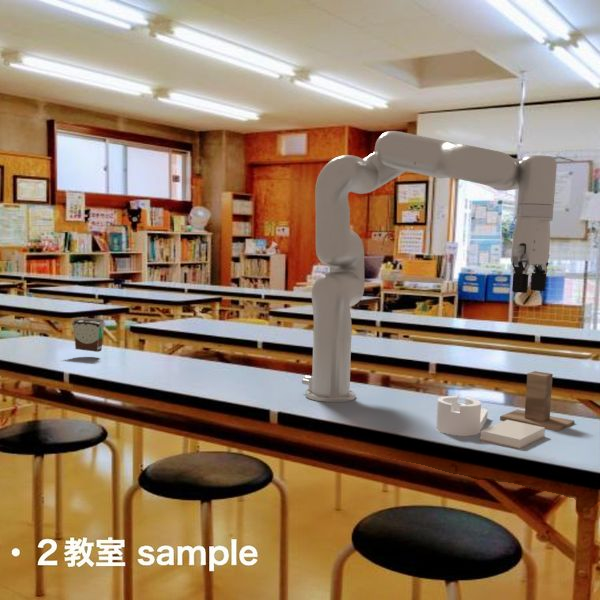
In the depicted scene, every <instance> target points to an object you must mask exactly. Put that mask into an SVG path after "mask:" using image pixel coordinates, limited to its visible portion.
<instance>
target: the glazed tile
mask: <svg viewBox="0 0 600 600" xmlns="http://www.w3.org/2000/svg"><path fill="white" fill-rule="evenodd" d="M545 431H546V429H545V427H540V426H535V425H530V424H526V423H521V422H516V421H511V420H505V421H503V420H502V421H500V422H499V423H497V424H494V425H491V426H489V427H486V428H484V429H481V431H480V434H481V436H479V438H480V441H481V440H482V442H485V441H487V442H486V443H490V442H492V443H491V444H495V443H496V445H499V444H501V445H500V446H504V445H505V447H509V446H510V447H509V448H514V449H518V448H519V449H518V450H520V449H522V448H524V447H526V446H528V445H530V443H531V444H532V442H533V443H534V442H537V441H539V440H541V439H544V438H545V437H546V434H545V433H546V432H545Z"/></svg>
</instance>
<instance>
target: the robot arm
mask: <svg viewBox="0 0 600 600" xmlns="http://www.w3.org/2000/svg"><path fill="white" fill-rule="evenodd" d="M557 163H558V162H557V159H556V158H555V157H553V156H550V155H541V154H538V155H527V156H524V157H523V158H516V157H512V156H511V155H509V154H508V153H505V152H503V151H498V150H494V149H489V148H486V147H485V148H483V147H479V146H474V145H468V144H464V143H456V142H453V141H448V140H443V139H438V138H437V139H436V138H432V137H429V136H428V137H427V136H422V135H419V134H418V135H417V134H413V133H408V132H403V131H397V130H390V131H389V130H388V131H385V132H383V133H382V134H381V135H380V136H379V137H378V138H377V139H376V142H375V146H374V151H373V153H370V154H369V155H368V156H366V157H364V158H362V157H359V156H357V155H356V156H355V155H351V154H345V155H339V156H337V157H335V158H333V159H331V160H329V162H328V163H326V164H325V165H324V166H323V167H322V168H321V170H320V172H319V174H318V176H317V179H316V183H315V189H314V190H315V191H314V196H315V198H314V200H315V253H316V257H317V258H318V260H319V261H320V263H322V264H323V265H325V266H329V272H325V273H323V274H321V275H320V276H319V277H317V279H316V280H315V281H314V283H313V286H312V289H311V302H312V313H313V338H312V339H313V343H312V367H311V368H312V370H311V371H312V373H311V376H310V375H305V376H304V378H303V379H302V380H301V384H302V385H304V386H305V385H306V386H308V389H306V391H305V394H304V396H305V398H307V399H309V400H312V401H316V402H324V403H344V402H350V401H351V402H352V401H353V400H355V399H356V392H354V391H353V390H351V389H350V386H351V355H352V330H353V329H352V325H353V324H352V316H351V307H353V306H356V304H358V303H360V301H361V300H362V298H363V295H364V292H365V249H364V248H365V247H364V244H363V241H362V239H361V237H360V236H359V234H358V233H356V232H355V231H354V230H352V229H351V221H350V220H351V210H350V204H349V203H350V202H349V198H348V197H349V193H354V194H359V195H362V194H363V195H364V194H368V193H369V194H370V193H371V192H373V191H376V190H377V189H379V188H381V187H382V186H384V185H386V184H387V183H389V182H391V181H393V180H394V179H396V178H397V177H399V176H401V175H402V174H404V173H406V172H409V173H414V174H418V175H422V176H426V177H430V178H436V179H447V178H448V179H449V178H450V179H455V180H461V181H465V182H469V183H475V184H480V185H484V186H487V187H490V188H492V189H494V190H496V191H502V192H503V191H505V192H506V191H512V190H518V191H517V192H518V193H517V205H516V218H515V219H516V222H515V226H514V232H513V237H512V238H513V239H512V247H511V253H510V255H511V256H510V261H511V263H512V267H513V269H512V289H511V290H512V293H521V294H522V293H523V294H526V293H528V288H529V286H528V285H529V275H530V274H529V273H528V271H529V269H530V267H532V270H533V272H531V277H530V278H531V279H530V290H531V291H534V292H535V291H537V292H545V291H546V286H547V285H546V284H547V273H548V266H549V259H550V243H551V221H554V220H553V217H554V208H555V207H554V205H555V194H556V180H557V169H558V167H557V166H558V165H557Z"/></svg>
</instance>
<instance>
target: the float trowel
mask: <svg viewBox="0 0 600 600" xmlns="http://www.w3.org/2000/svg"><path fill="white" fill-rule="evenodd" d="M553 375H554V374H553V373H549V372H543V371H536V370H534V371H531V372H527V374H526V390H525V391H526V392H525V405H524V406H525V408H524V410H523V409H516V410H513V411H510V412H507V413H505V414H503V415H500V416H499V420H500V421H502V422H503V421H505V420H511V421H516V422H521V423H526V424H530V425H535V426H540V427H545V430H546V429H547V430H552V431H557V432H560V431H561V430H564V429H565V428H568V427H570V426H572V425H574V424H575V420H572V419H568V418H562V417H559V416H553V415H551V406H552V405H551V404H552V403H551V402H552V388H553Z"/></svg>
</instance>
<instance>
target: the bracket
mask: <svg viewBox="0 0 600 600" xmlns="http://www.w3.org/2000/svg"><path fill="white" fill-rule="evenodd" d="M436 406H437V407H436V427H435V428H436V429H437V430H438V431H437V430H436V429H435V430H436V431H437V432H439V431H440V432H439V433H441V432H442V434H444V433H446V434H445V435H449V434H450V436H456V435H458V436H459V437H467V436H469V437H470V435H471V436H477V435H478V433H479V434H480V433H481V431H482V430H483V429H482V428H483V427H484V426H485V424H486V423H487V420H488V412H489V411H488V409H487V408H484V407H482V402H481V401H480V400H478V399H477V398H472V397H468V396H467V397H466V398H465V403H463V402H462V403H461V402H459V396H457V395H446V396H440V397H438V398H437V405H436ZM480 430H481V431H480Z"/></svg>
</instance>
